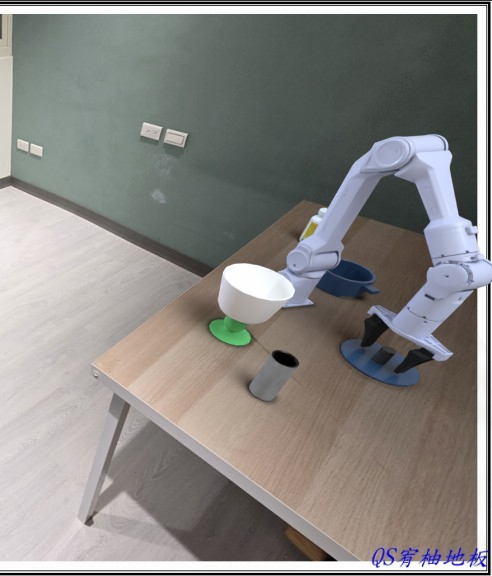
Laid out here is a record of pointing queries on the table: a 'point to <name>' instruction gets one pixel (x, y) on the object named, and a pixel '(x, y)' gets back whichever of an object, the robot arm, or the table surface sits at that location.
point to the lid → (378, 363)
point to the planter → (273, 375)
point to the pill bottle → (313, 224)
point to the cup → (248, 300)
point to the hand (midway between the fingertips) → (381, 358)
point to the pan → (348, 280)
